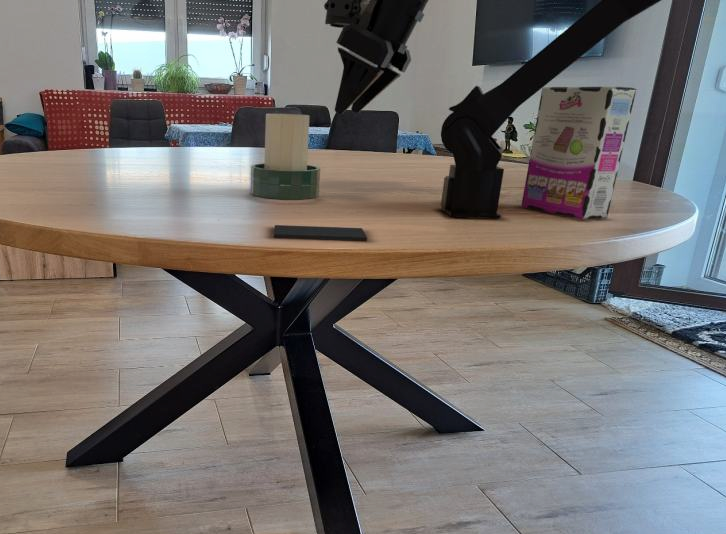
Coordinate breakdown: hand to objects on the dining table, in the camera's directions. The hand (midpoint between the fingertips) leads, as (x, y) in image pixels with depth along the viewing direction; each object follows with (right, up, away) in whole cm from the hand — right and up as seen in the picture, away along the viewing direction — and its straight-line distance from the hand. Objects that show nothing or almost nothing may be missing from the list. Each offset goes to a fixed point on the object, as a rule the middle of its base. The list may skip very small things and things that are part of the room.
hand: (346, 112), depth 87 cm
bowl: (-8, -10, +7) cm, 15 cm away
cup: (-8, -10, +7) cm, 14 cm away
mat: (-5, -19, -16) cm, 26 cm away
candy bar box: (+31, -13, +3) cm, 33 cm away
